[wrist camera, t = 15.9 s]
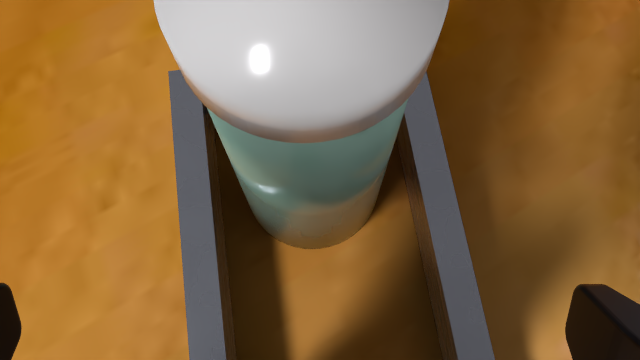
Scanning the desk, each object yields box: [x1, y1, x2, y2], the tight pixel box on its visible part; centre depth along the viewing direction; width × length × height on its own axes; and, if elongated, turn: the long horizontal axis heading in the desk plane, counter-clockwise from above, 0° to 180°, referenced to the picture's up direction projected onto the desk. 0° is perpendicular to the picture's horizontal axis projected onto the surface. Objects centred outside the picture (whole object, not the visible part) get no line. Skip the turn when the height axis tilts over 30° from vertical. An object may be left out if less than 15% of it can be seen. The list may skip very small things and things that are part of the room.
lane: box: [168, 70, 495, 360], centre depth 21 cm, size 16×10×2 cm, turn 9°
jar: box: [154, 0, 449, 249], centre depth 17 cm, size 6×6×13 cm
